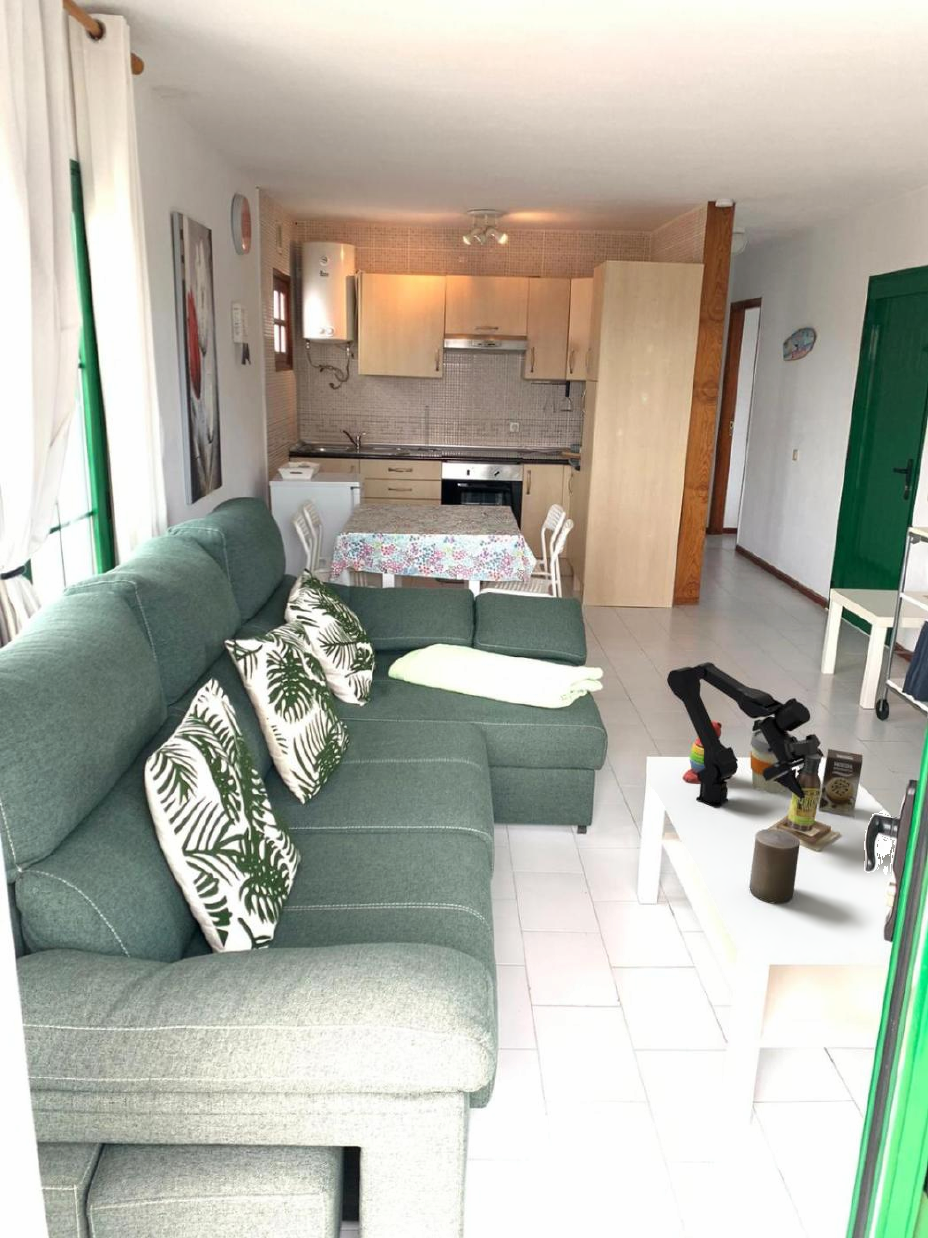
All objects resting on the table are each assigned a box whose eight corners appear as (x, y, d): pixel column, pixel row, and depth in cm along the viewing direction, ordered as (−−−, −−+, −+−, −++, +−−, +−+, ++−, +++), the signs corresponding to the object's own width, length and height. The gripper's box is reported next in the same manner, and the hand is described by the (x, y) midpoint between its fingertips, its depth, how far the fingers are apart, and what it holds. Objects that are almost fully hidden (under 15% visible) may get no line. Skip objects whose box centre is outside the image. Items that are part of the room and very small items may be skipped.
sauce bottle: (792, 833, 241) (803, 760, 235) (783, 821, 247) (794, 749, 241) (817, 833, 241) (829, 760, 235) (808, 821, 247) (819, 750, 241)
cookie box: (818, 811, 261) (826, 756, 257) (819, 801, 267) (826, 747, 263) (854, 818, 258) (862, 762, 254) (854, 808, 264) (862, 753, 260)
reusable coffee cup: (797, 796, 270) (804, 746, 266) (752, 794, 270) (758, 745, 266) (783, 777, 282) (790, 729, 278) (740, 776, 282) (746, 728, 278)
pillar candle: (795, 906, 215) (804, 845, 211) (750, 900, 216) (758, 840, 213) (789, 884, 224) (797, 825, 220) (746, 879, 226) (753, 820, 222)
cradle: (765, 831, 249) (766, 824, 248) (789, 816, 258) (790, 809, 257) (817, 851, 239) (818, 844, 239) (840, 834, 248) (841, 827, 248)
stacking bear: (681, 781, 277) (686, 723, 272) (690, 768, 286) (696, 712, 281) (718, 790, 272) (725, 731, 268) (726, 777, 281) (733, 720, 276)
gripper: (779, 733, 234) (812, 792, 229) (822, 718, 245) (855, 773, 240) (748, 752, 242) (779, 809, 237) (791, 736, 253) (822, 790, 248)
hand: (810, 795), depth 240 cm, fingers closed on sauce bottle, 6 cm apart
